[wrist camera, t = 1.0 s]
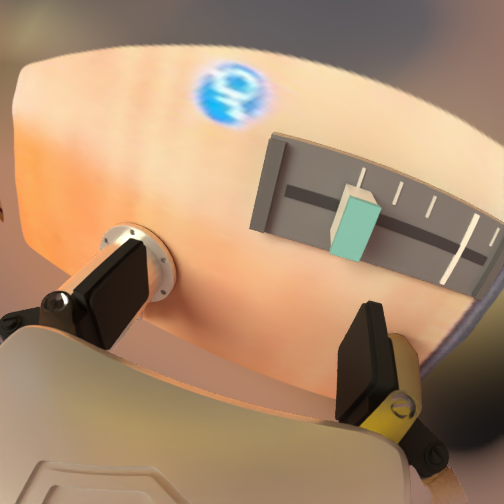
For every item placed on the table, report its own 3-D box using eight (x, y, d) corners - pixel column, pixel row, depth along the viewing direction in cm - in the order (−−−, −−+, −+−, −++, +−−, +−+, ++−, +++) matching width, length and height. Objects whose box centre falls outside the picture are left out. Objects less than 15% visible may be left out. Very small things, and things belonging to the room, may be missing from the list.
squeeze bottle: (388, 369, 39) (394, 472, 24) (351, 352, 38) (348, 466, 23) (424, 339, 34) (446, 449, 19) (387, 318, 34) (403, 443, 19)
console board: (471, 289, 29) (479, 303, 26) (254, 220, 31) (248, 232, 29) (506, 224, 24) (518, 235, 21) (274, 131, 26) (270, 135, 24)
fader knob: (354, 238, 27) (358, 262, 23) (328, 230, 27) (329, 253, 24) (372, 191, 24) (381, 208, 21) (345, 182, 25) (350, 197, 21)
